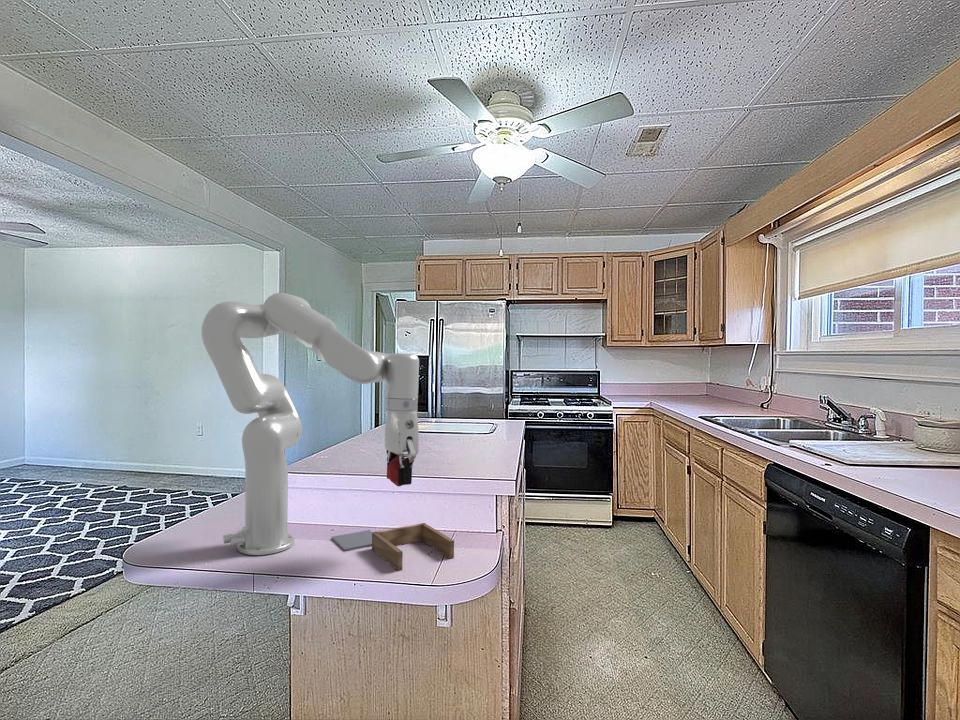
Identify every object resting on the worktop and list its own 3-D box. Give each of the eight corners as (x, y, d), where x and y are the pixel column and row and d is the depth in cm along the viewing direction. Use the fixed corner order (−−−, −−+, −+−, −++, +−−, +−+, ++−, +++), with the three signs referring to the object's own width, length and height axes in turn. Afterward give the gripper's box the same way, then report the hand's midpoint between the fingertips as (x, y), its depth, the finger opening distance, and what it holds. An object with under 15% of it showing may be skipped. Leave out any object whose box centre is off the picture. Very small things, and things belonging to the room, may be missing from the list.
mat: (344, 551, 124) (344, 549, 124) (331, 538, 132) (331, 536, 132) (384, 543, 129) (384, 541, 129) (369, 531, 138) (369, 529, 138)
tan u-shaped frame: (398, 570, 113) (398, 552, 113) (371, 549, 125) (372, 532, 125) (453, 557, 121) (454, 540, 121) (424, 538, 133) (424, 522, 133)
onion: (406, 490, 120) (407, 455, 120) (382, 488, 122) (383, 454, 122) (414, 484, 126) (415, 451, 126) (392, 482, 127) (393, 449, 127)
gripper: (432, 409, 118) (429, 488, 119) (401, 401, 133) (398, 472, 133) (402, 409, 114) (398, 491, 115) (373, 402, 129) (370, 475, 129)
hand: (398, 480), depth 124 cm, fingers closed on onion, 5 cm apart
